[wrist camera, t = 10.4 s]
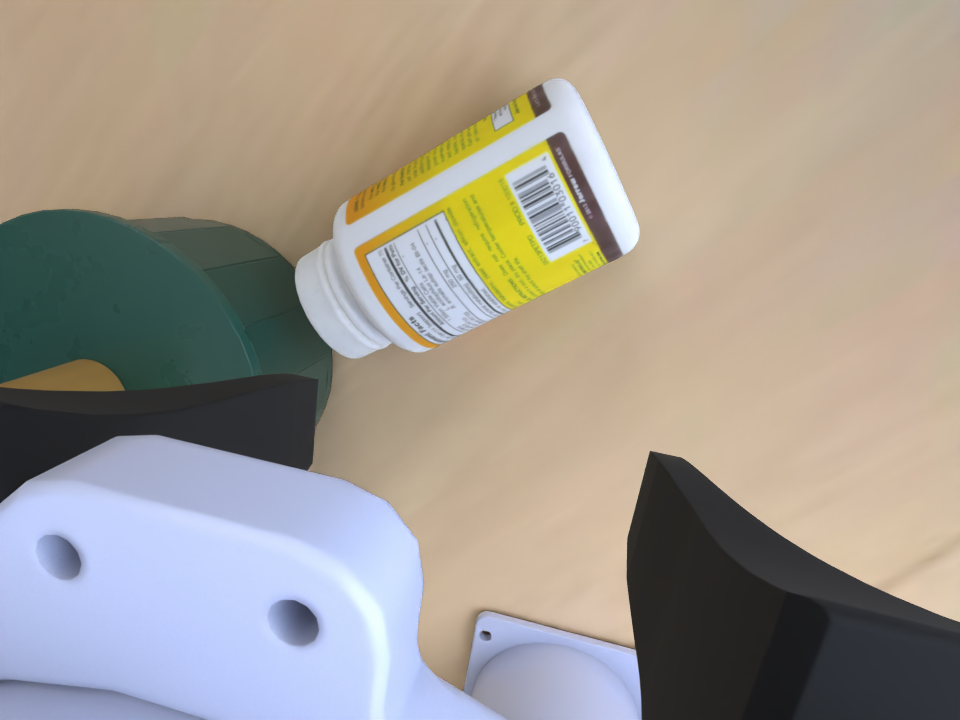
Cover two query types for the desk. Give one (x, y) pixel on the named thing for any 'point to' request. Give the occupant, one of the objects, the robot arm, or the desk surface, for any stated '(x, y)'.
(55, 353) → the lid
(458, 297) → the supplement bottle
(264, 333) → the tin
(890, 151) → the desk surface
